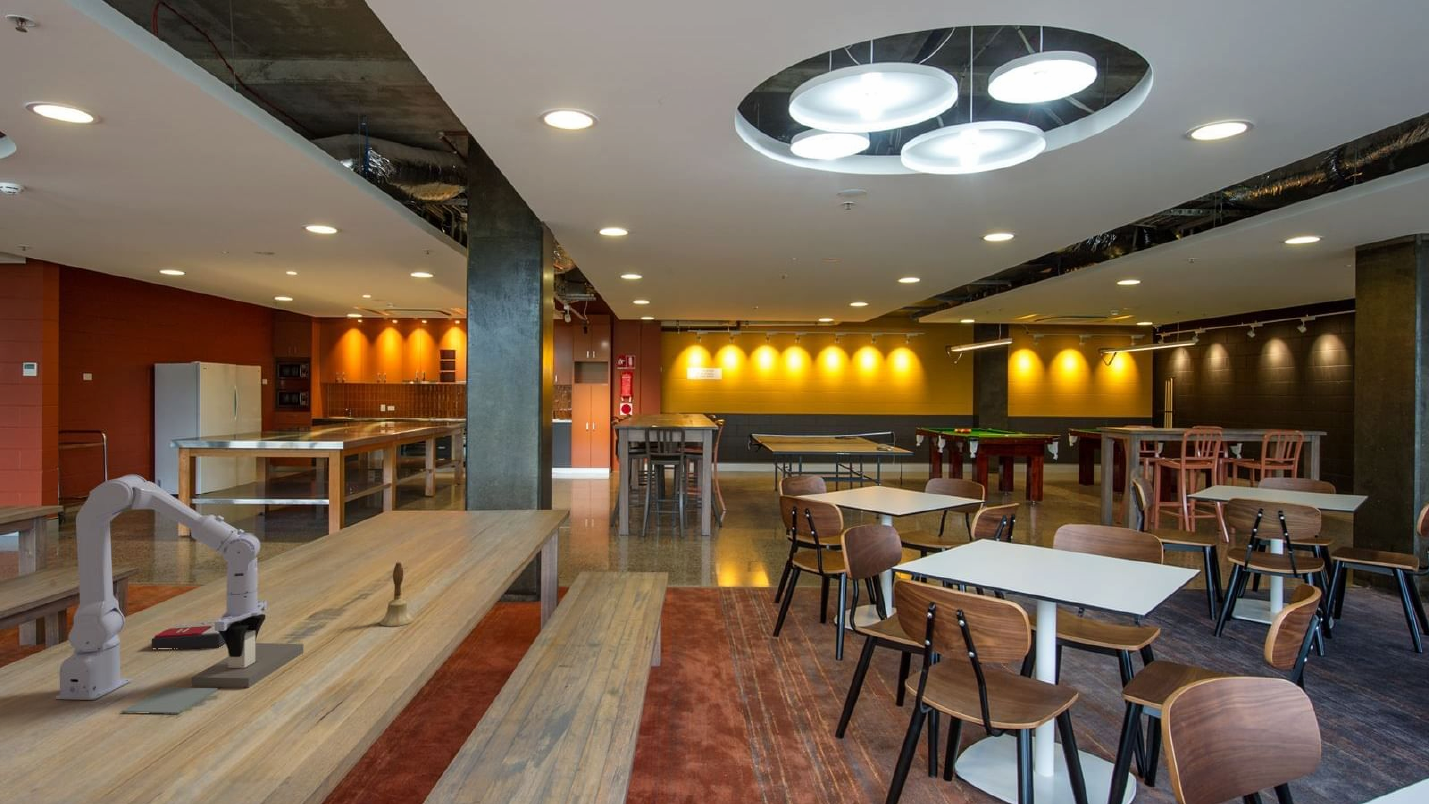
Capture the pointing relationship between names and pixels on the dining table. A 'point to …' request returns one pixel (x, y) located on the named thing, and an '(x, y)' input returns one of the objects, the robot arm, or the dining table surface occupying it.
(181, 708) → the mat
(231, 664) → the plug
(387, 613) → the hand bell
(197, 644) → the black and red box
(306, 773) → the dining table surface
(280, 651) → the grey slotted plate
